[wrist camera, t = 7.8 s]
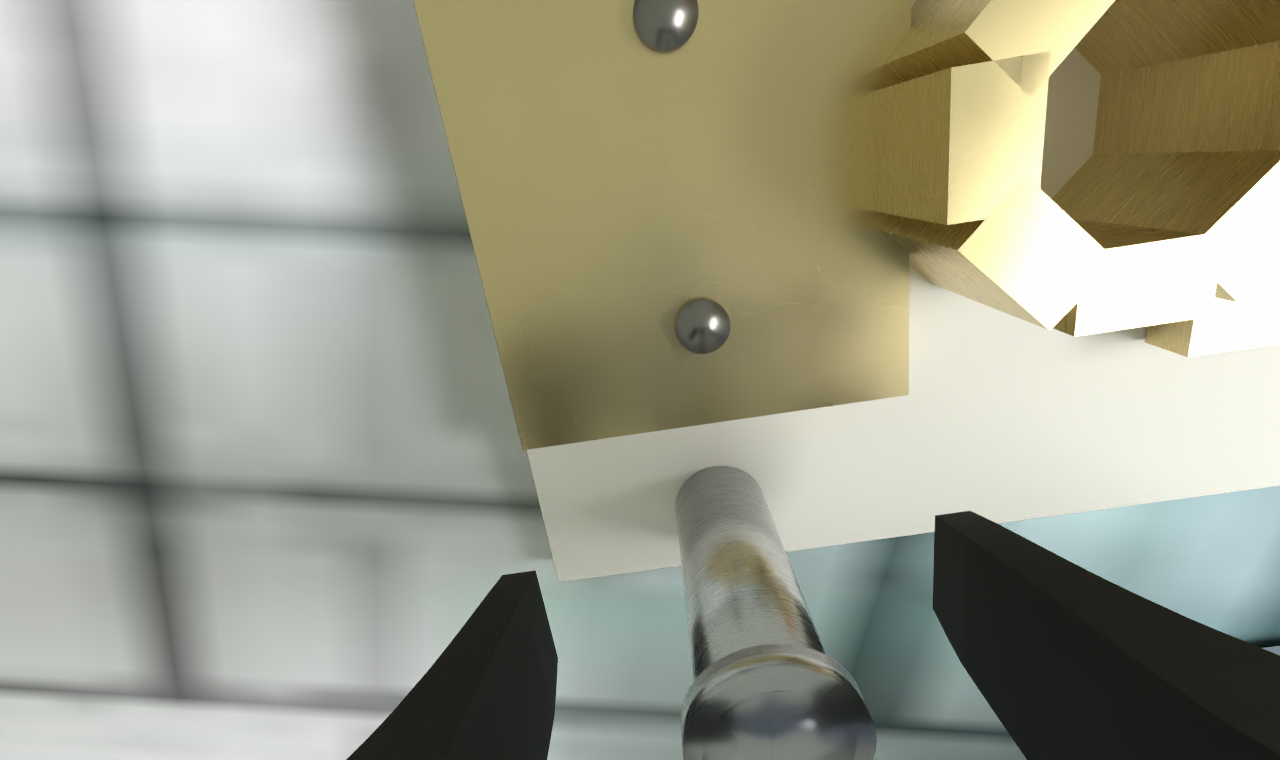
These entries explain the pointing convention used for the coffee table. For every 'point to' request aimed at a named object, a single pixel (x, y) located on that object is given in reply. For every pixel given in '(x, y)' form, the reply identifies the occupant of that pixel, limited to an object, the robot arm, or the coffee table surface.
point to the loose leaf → (1226, 324)
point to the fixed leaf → (834, 186)
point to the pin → (756, 638)
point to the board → (946, 425)
